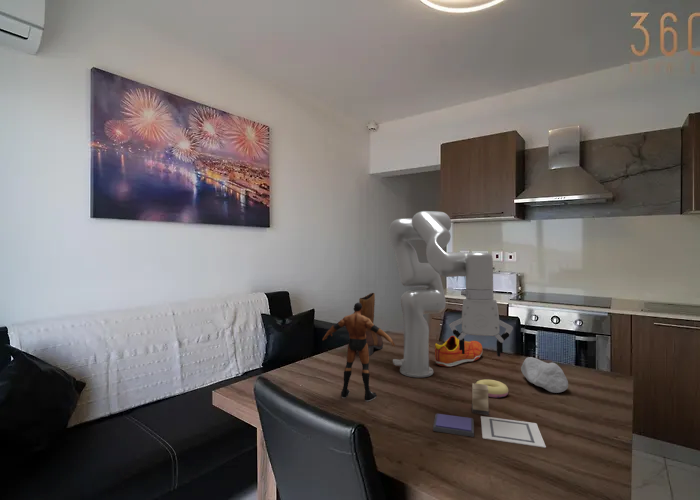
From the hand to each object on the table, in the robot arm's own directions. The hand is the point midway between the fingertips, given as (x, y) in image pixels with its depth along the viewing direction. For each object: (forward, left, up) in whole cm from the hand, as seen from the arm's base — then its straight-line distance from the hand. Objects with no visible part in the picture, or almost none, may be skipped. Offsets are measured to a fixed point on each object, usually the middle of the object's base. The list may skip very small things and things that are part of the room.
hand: (480, 354), depth 102 cm
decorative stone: (+21, +27, -17) cm, 38 cm away
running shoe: (-6, +48, -17) cm, 51 cm away
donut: (+4, +15, -17) cm, 23 cm away
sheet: (+7, -10, -17) cm, 20 cm away
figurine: (-37, -1, -17) cm, 41 cm away
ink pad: (-7, -12, -17) cm, 22 cm away
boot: (-47, +52, -17) cm, 72 cm away
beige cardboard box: (0, 0, -17) cm, 17 cm away
